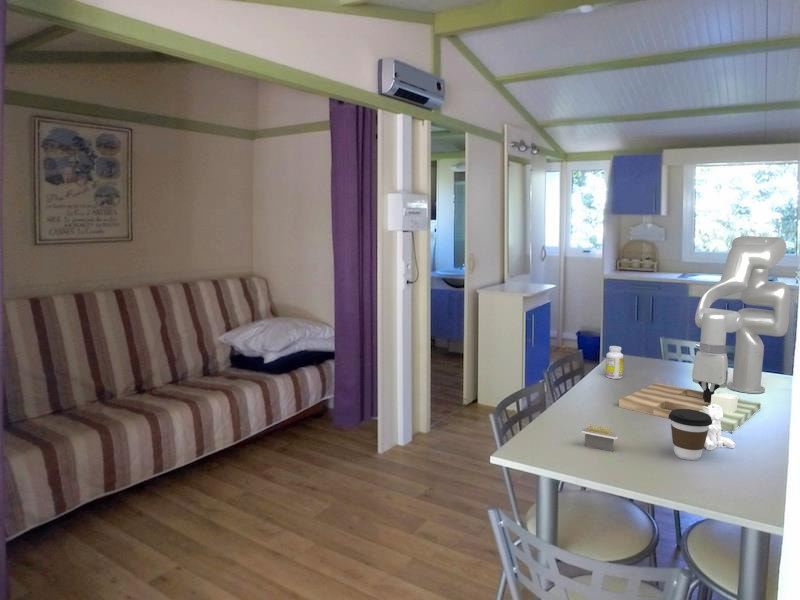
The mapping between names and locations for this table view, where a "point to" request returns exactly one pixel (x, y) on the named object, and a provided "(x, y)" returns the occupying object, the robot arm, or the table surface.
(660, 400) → the board
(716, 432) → the white creature statuette
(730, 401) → the block
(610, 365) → the supplement bottle
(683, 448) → the coffee cup
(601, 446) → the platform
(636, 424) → the table surface
